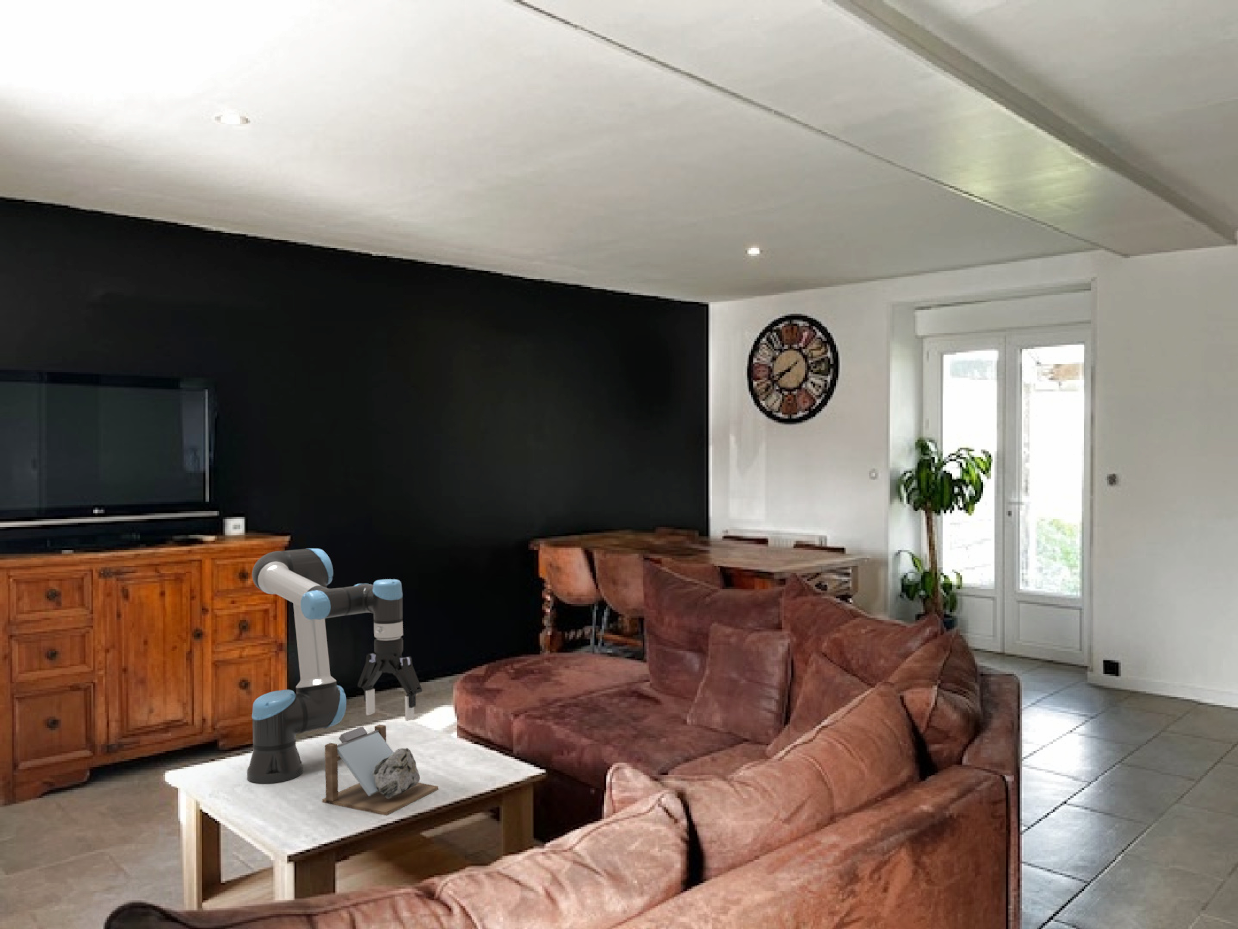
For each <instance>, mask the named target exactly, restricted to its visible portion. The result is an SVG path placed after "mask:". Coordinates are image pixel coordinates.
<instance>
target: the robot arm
mask: <svg viewBox="0 0 1238 929" xmlns="http://www.w3.org/2000/svg"><path fill="white" fill-rule="evenodd" d="M328 555H329V554H327V553H326V552H325V551H324V550H323V549H321V548H309V547H308V548H301V549H289V550H276V551H272V552H267V554H264V555H262V556H261V557H260V558H259V559H257V561H256V562H255V564H254V566H253V567H252V571H251V578H252V582H253V584H254V585H255V587H256V588H258V589H259V590H260V591H261V592H264V593H266V594H269V595H277V596H279V597H280V598H281V597H282V598H283V599H285V600H287V601H289V602H290V603H293V606H292V607H293V612H294V614H293V616H294V625H295V626H294V627H295V634H296V644H297V646H296V647H297V655H298V667H299V676H300V680H299V682H298V683H297V685H296V686H295V690H296V691H294V690H292V689H281V690H274V691H270V692H267V693H264V694H262V695H260V696H258V697H257V698H256V699H255V700H254V701H253V704H252V711H251V712H252V714H251V718H252V747H253V750H252V754H251V758H250V762H249V766H248V767H247V769H246V770H247V771H246V779H247V780H248V781H249V782H251V783H255V784H271V783H272V784H275V783H281V782H286V781H290V780H293V779H296V778H297V777H299V776H301V775H302V774H303V770H304V768H303V761H302V760H301V757H300V756H301V755H300V754H299V751H298V748H297V744H296V743H297V742H296V741H297V737H296V736H297V735H298V734H304V733H308V732H312V731H317V730H322V729H327V728H330V727H333V726H336V725H338V724H339V723H340V722H341V721H342V720H343V719H344V716H345V714H346V710H347V697H346V696H347V695H346V693H345V690H344V688H343V687H342V686H341V685H338V684H337V680H336V679H335V678H334V677H333V676H331V671H330V667H331V666H330V657H329V648H328V641H327V640H328V639H327V638H328V637H327V629H326V619H330V618H336V617H342V616H351V615H358V614H365V613H371V614H373V634H374V638H375V639H373V640H374V641H373V646H374V648H373V649H374V652H372V653H368V654H366V656H365V657H366V658H365V664H364V667H363V668H362V669H363V670H362V673H361V674H360V677H359V680H358V682H357V688H362V690H363V700H364V702H365V715H366V716H370V715H373V714H375V713H376V696H375V695H376V694H375V693H376V691H375V690H376V689H375V688H374V686H375V684H376V683H377V681H378V680H379V678H380V677H381V675H382V674H383V673H384V674H385V673H387V674H392V675H393V676H395V677H396V679H397V680H398V683H399V684H400V685H401V687H402V688H403V690H404V692H405V693H406V695H404V713H405V714H404V716H405V717H404V718H405V719H404V720H405V722H408V721H411V720H414V719H415V708H416V707H417V706H416V705H417V699H416V698H417V696H416V695H417V694H419V693H422V692H423V688H422V685H421V683H420V681H419V678H418V676H417V673H416V671H415V668H414V665H413V658H412V656H406V657H403V656H402V655H403V654H402V653H403V651H404V640H403V637H402V636H404V628H403V627H404V626H403V625H404V624H403V623H404V622H403V595H404V594H403V587H402V581H400V580H399V579H395V578H393V579H391V578H389V579H388V578H387V579H386V578H385V579H384V578H383V579H377V580H375V581H374V582H373V584H371V583H370V584H369V583H357V584H354V585H353V586H345V587H336V588H328V587H327V586H328V585H330V584H331V583H332V581H333V577H334V569H333V564H332V561H331V558H330V557H329V556H328ZM375 664H376V666H375ZM295 692H296V693H295Z"/></svg>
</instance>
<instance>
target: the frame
mask: <svg viewBox="0 0 1238 929" xmlns="http://www.w3.org/2000/svg"><path fill="white" fill-rule="evenodd" d="M375 730H378V731H379V734H380V735H381V736H382V738H383V739H384V740H385V741H386V742H387V725H384V724H377V725H375V726H374V731H375ZM337 745H338V743H331V742H329V743H326V744H325V745H324V758H325V759H324V763H325V764H324V765H325V766H324V768H325V770H324V771H325V774H324V775H325V798H322V800H321V802H322V803H324V804H330V805H333V806H339V807H343V808H349V809H353V810H358V811H363V812H369V813H373V814H377V815H383V816H388V815H390V814H393V813H394V812H396V811H398V810H400V809H402V808H405V807H406V806H408V805H410V804H412V803H414V802H416V801H418V800H420V799H422V798H424V797H426V796H428V795H429V794H431V793H434V792H436V791H437V790H439V786H438V785H433V784H428V783H423V782H418V784H417V785H416V786H414V787H411V788H409V789H408V790H406V791H404V792H402V793H401V794H399V795H396V796H394V797H392V798H389V799H388V798H386V797H385V796H384V795H382V794H381V793H380V792H377V793H375V794H373V795H371V796H368V794H367V793H366V792H365V790H364V789H363V788H362V786H361V785H360V783H359V782H358V783H356V784H354V785H352V786H350V787H347V788H344V789H342V790H340V791H339V776H338V775H339V772H338V771H339V769H338V768H339V767H338V765H339V763H338V762H339V761H341V760H342V759H341V758H340V756H339V755H338V754H337ZM342 761H343V760H342Z"/></svg>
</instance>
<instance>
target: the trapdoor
mask: <svg viewBox="0 0 1238 929" xmlns="http://www.w3.org/2000/svg"><path fill="white" fill-rule="evenodd" d="M338 740H339V742H340V743H338V744H337V754H338V755H339V756H340V758H341V759H342V762H343V763H344V764H345V766H346V767H347V769H348V770H349V771H350V773H351V774H352V775H353V777H354V779H355V780H356V781H357V782H358V783H360V785H361V786H362V788H363V789H364V790H365V792H366V793H367V794H368V796H371V795H373V794H375V793H377V792H379V791H378V790H377V787H376V784H375V781H374V776H373V771H374V770H375V766H376V765H377V764H378V763H379V762H381V761H382V760H383V759H386V758H388V757H389V756H391V755H392V754H393V753H394V752H395V751H393V749H392V748H391V747H390V745H389V744H388V743H387V740H386V741H385V740H384V739H383V738H382V736H381V735H380V734H379V731H378V730H375V729H374V730H373V731H371V732H367V730H366V729H365V727H364V726H360V727H357V728H354V729H351V730H349V731H347V732H344V733H341V734H340V736H339V738H338Z"/></svg>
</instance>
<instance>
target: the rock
mask: <svg viewBox="0 0 1238 929" xmlns="http://www.w3.org/2000/svg"><path fill="white" fill-rule="evenodd" d="M393 752H394V753H393V754H392V755H391V756H389V757H388V758H386V759H383V760H382V761H381V762H379V763H378V764H377V765H376V766H375V770H374V771H373V776H374V781H375V784H376V787H377V790H378V791H379V792H380V793H381V794H382V795H384V796H385V797H386V798H388V799H389V798H392V797H394V796H396V795H399V794H401V793H402V792H404V791H406V790H408V789H409V788H411V787H414V786H416V785H417V784H418V783H420V780H421V777H420V774H419V769H418V768H417V762H416V760H415V758H414V755H413V753H412V751H411V750H410V748H407V747H406V748H397V749H396V750H395V751H393Z"/></svg>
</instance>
